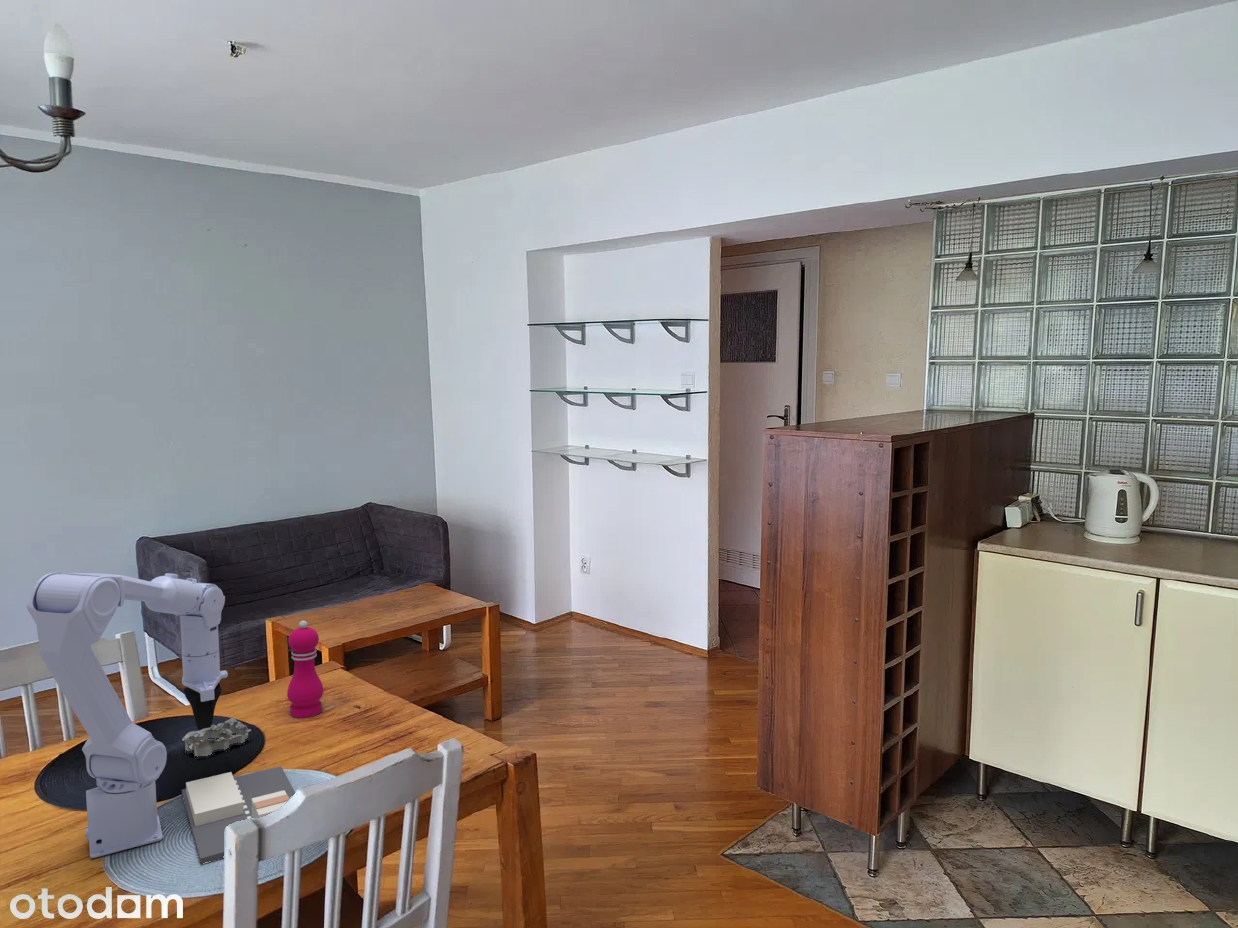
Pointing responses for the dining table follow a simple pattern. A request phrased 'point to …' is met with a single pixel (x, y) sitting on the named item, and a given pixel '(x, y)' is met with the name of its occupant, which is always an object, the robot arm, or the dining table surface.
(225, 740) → the egg carton
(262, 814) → the stub
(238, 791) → the mat
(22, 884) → the dining table surface
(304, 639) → the pepper mill
